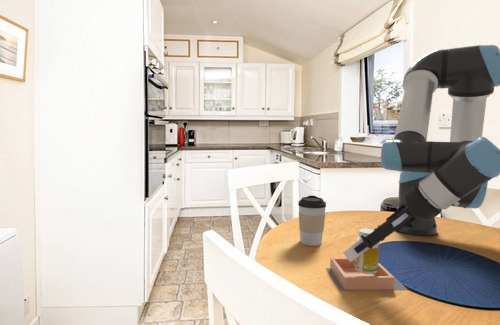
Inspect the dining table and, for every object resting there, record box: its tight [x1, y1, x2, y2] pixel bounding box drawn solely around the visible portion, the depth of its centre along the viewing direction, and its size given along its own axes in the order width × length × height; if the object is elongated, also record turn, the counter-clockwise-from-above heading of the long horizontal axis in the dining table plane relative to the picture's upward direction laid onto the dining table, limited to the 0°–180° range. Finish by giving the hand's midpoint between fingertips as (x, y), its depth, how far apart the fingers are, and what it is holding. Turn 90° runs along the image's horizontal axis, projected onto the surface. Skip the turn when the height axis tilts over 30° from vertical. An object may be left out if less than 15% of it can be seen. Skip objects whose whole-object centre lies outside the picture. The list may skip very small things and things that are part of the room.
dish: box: [329, 257, 396, 291], centre depth 81 cm, size 12×12×3 cm
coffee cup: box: [297, 195, 327, 247], centre depth 107 cm, size 9×9×15 cm
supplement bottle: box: [355, 228, 380, 274], centre depth 79 cm, size 5×5×10 cm
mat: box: [325, 267, 409, 292], centre depth 81 cm, size 16×12×1 cm
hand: (351, 252), depth 81 cm, fingers closed on supplement bottle, 5 cm apart
